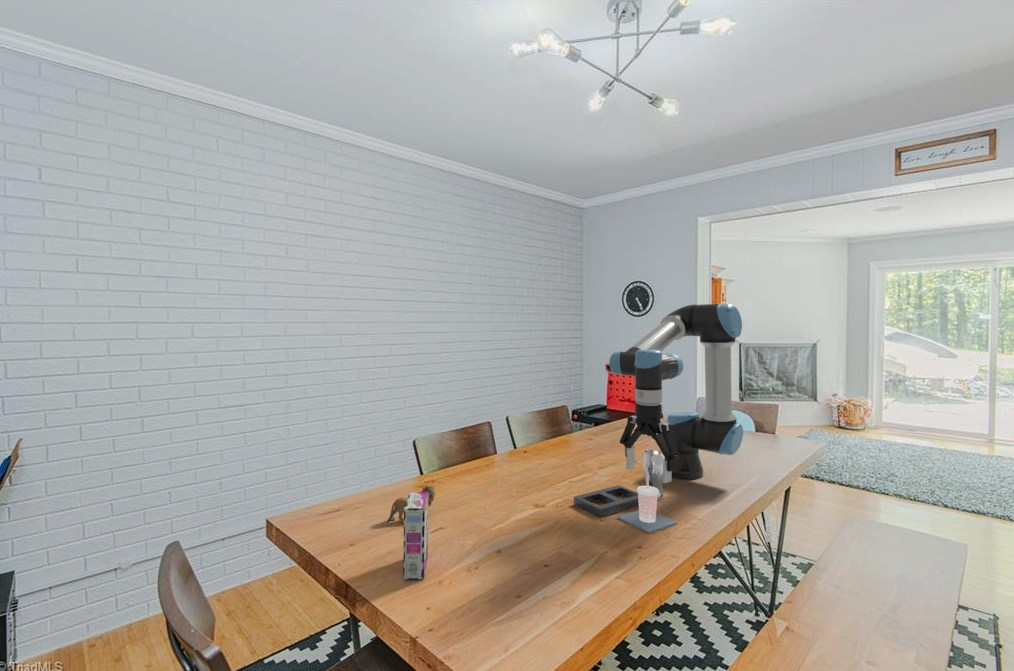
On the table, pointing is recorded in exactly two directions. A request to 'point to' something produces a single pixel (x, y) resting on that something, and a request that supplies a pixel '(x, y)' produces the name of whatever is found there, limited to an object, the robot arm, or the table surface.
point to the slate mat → (644, 526)
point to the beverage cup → (647, 502)
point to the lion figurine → (401, 502)
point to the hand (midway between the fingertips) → (648, 475)
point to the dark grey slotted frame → (607, 501)
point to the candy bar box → (415, 536)
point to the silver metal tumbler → (654, 469)
